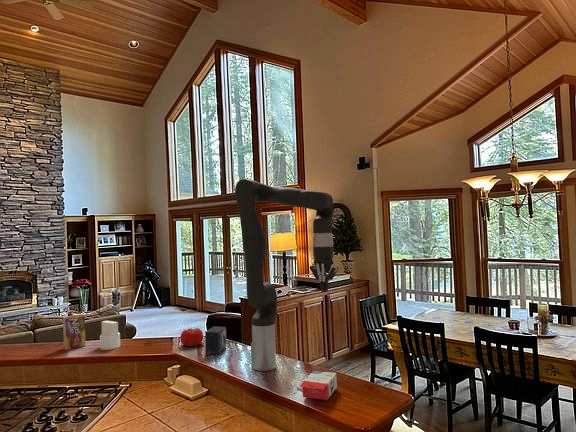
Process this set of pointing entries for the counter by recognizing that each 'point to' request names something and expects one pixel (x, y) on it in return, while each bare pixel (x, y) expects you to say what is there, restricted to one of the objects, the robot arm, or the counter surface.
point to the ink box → (319, 385)
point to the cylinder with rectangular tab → (109, 335)
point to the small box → (215, 341)
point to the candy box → (74, 331)
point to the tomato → (191, 337)
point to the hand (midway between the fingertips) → (324, 291)
